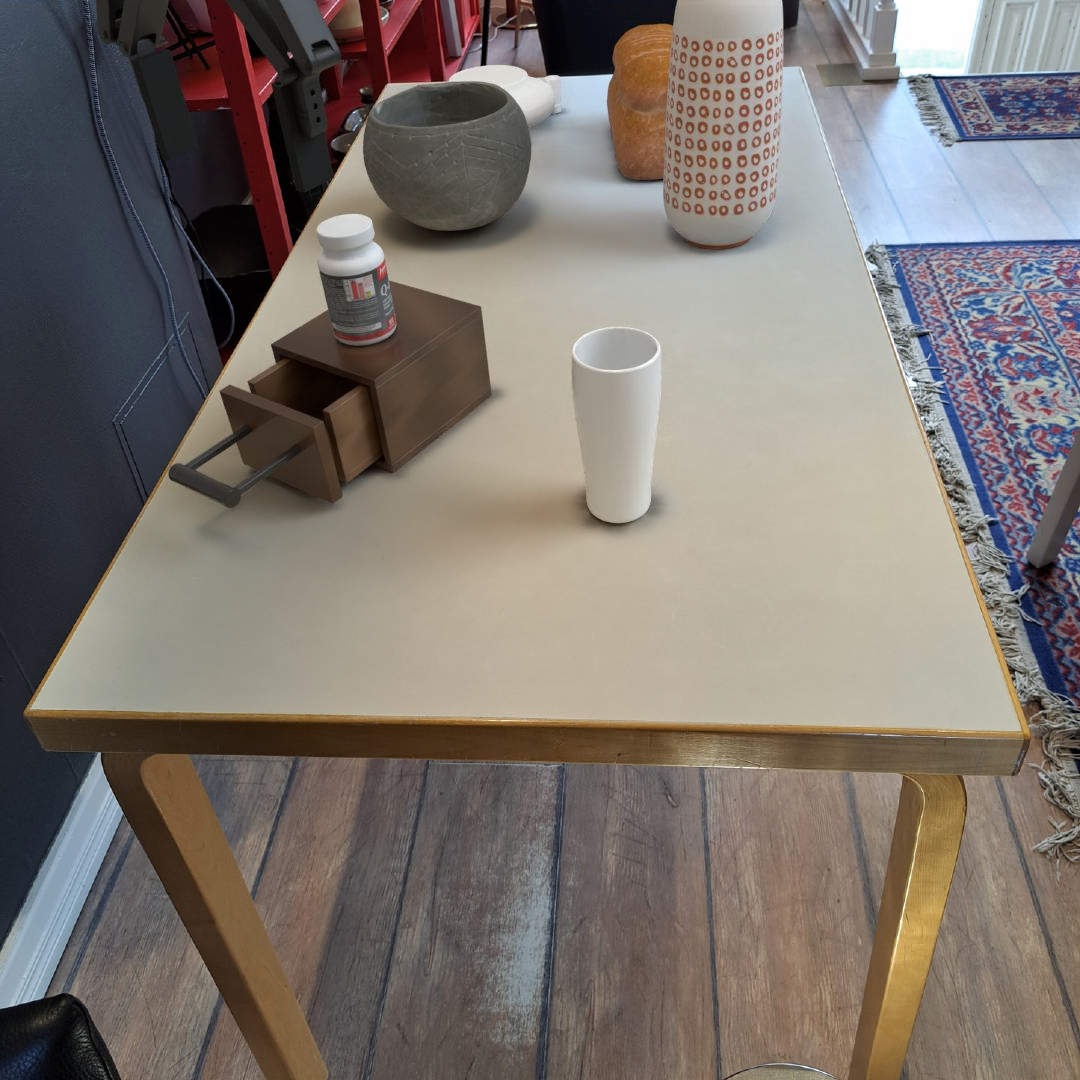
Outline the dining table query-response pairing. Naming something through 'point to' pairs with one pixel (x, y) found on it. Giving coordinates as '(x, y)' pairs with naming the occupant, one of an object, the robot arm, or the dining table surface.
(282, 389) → the drawer
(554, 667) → the dining table surface
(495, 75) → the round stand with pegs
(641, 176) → the bread
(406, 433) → the cabinet
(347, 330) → the pill bottle
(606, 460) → the drinking glass
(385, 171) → the bowl
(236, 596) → the dining table surface
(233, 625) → the dining table surface
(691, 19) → the white patterned vase
